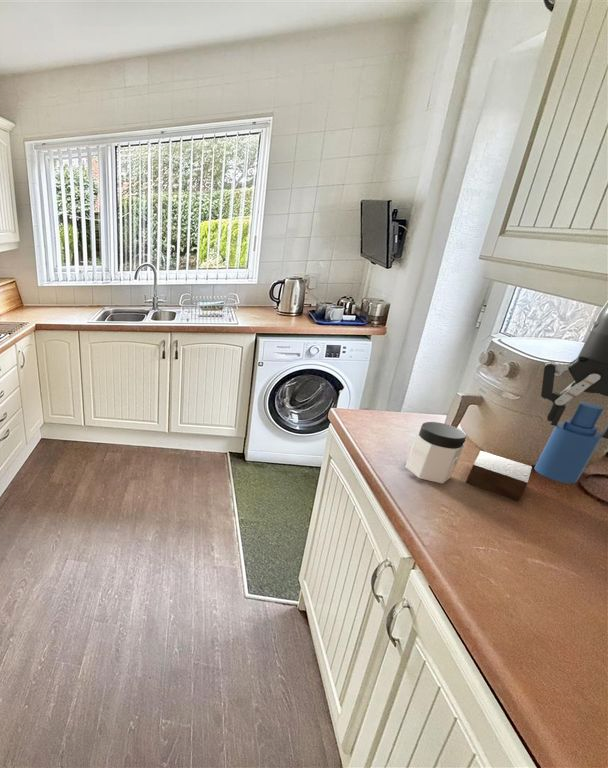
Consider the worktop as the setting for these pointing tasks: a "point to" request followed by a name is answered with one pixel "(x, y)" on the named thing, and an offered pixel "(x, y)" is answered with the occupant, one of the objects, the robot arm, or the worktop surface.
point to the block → (499, 475)
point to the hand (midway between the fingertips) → (578, 429)
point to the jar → (436, 451)
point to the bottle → (571, 445)
